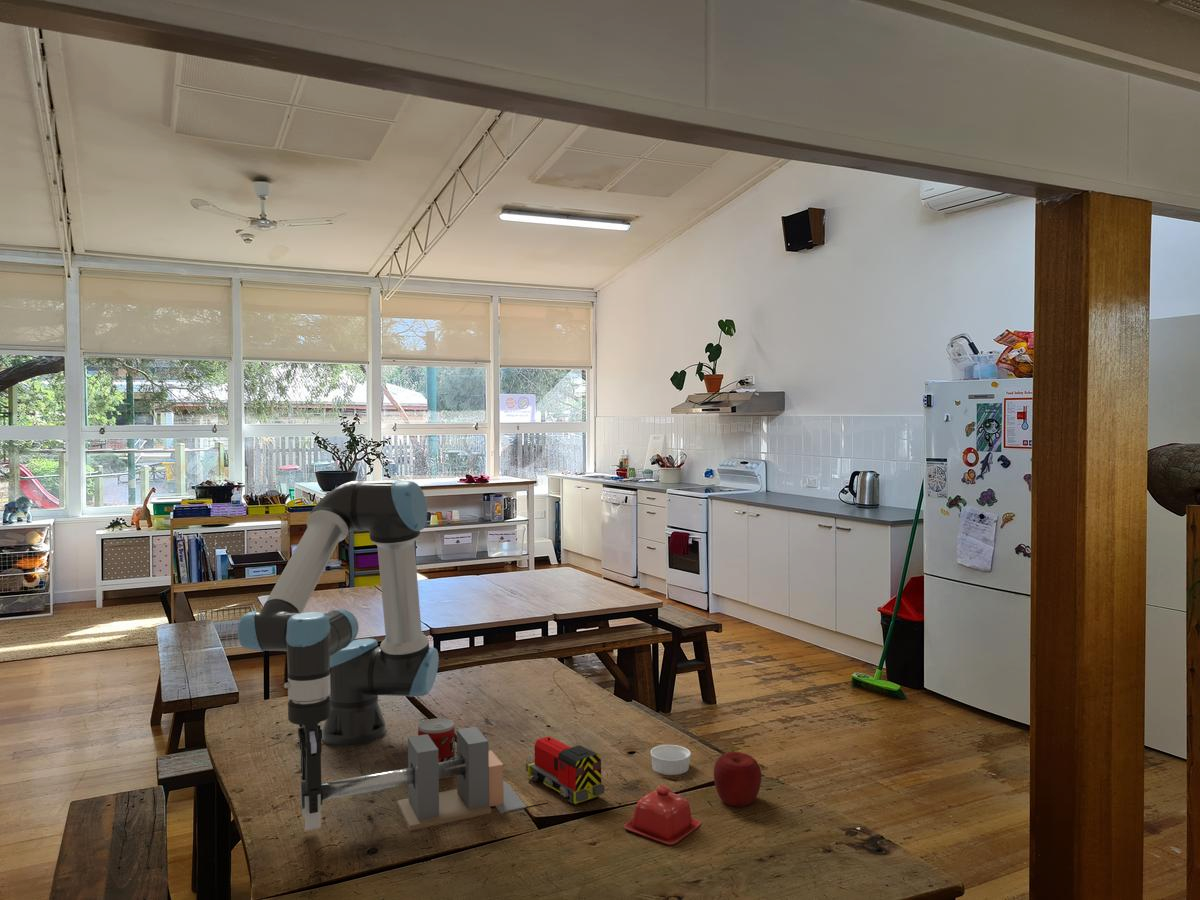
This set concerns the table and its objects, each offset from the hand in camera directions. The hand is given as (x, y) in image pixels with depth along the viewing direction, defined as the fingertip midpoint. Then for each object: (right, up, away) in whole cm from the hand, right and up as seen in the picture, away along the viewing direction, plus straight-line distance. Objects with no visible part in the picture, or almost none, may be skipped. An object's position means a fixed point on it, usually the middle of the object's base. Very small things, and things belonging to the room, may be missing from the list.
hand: (311, 821), depth 156 cm
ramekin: (+69, -2, +29) cm, 75 cm away
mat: (+36, -2, +16) cm, 40 cm away
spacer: (+31, -2, +14) cm, 35 cm away
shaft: (+13, +3, +6) cm, 14 cm away
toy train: (+46, -2, +19) cm, 50 cm away
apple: (+81, -2, +12) cm, 82 cm away
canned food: (+18, -2, +28) cm, 33 cm away
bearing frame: (+23, -2, +10) cm, 25 cm away
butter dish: (+66, -3, +2) cm, 66 cm away
